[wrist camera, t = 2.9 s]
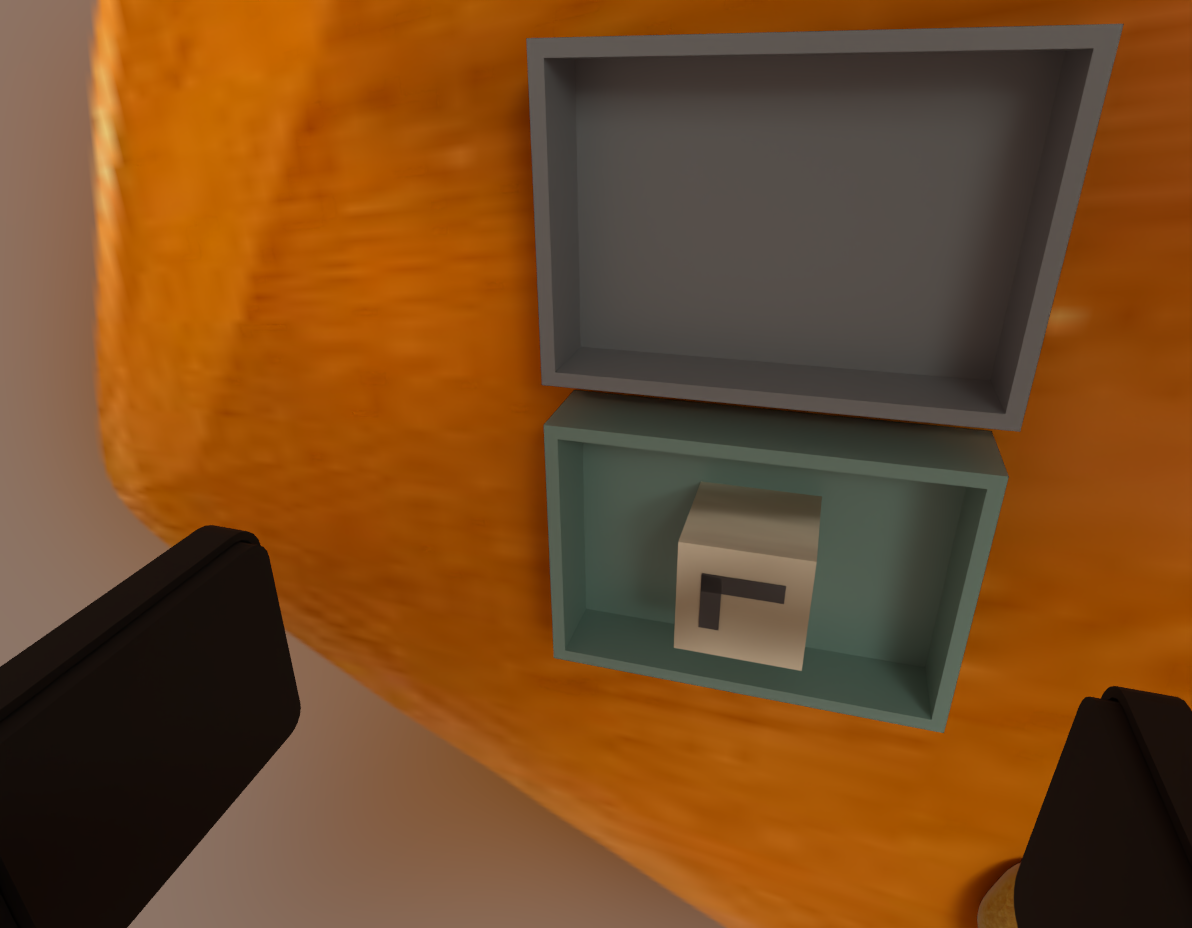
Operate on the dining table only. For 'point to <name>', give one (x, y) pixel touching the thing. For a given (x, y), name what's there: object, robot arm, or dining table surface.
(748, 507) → the letter cube
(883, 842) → the dining table surface
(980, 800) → the dining table surface
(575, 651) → the green-grey bin
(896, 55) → the charcoal bin
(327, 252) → the dining table surface
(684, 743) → the dining table surface
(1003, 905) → the bread roll
